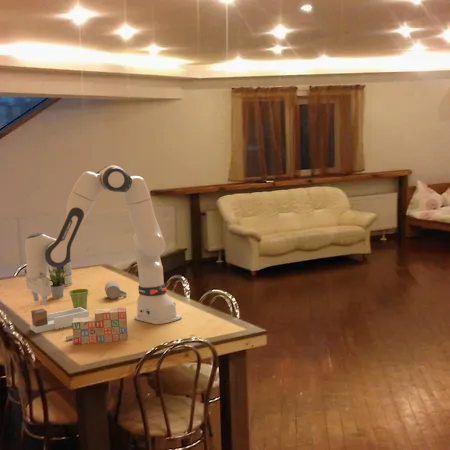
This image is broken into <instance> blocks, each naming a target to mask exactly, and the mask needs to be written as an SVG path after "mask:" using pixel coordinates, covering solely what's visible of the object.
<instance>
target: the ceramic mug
mask: <svg viewBox="0 0 450 450" xmlns="http://www.w3.org/2000/svg"><path fill="white" fill-rule="evenodd" d="M104 291H105V294H106V296H107V298H109V299H111V300H115V299H116V300H117V299H118V298H119V296H120V297H123V298H126V297H127V293H126V291H124V290H121V287H120V285H119V284H118V283H117V282H116V281H109V282H107V283H106V285H105V287H104Z"/></svg>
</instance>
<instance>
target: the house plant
mask: <svg viewBox="0 0 450 450" xmlns="http://www.w3.org/2000/svg"><path fill="white" fill-rule="evenodd" d="M53 268H54V267H52V269H53ZM65 268H66V267H65ZM65 268H63V269H62V270H61V272H60V270H59V274H58V269H57V268H56V271H55V270H54V271H55V275H56V278H55V275H53V271H51V270H49V269H48V272H49V277H48V278H49V280H50V285H51V296H52V299H60V298H63V297H64V289H65V286H64V284H61V282H62V280H63V278H64V277H65V276H66V275H65V276H64V277H63V278H62V277H60V276H61V273H62V271H63V270H64V269H65ZM68 270H70V269H68ZM66 271H67V270H65V271H64V272H63V274H64V273H65V272H66ZM63 274H62V276H63ZM61 279H62V280H61ZM65 279H66V278H65ZM66 280H67V279H66ZM60 281H61V282H60ZM63 281H64V280H63Z"/></svg>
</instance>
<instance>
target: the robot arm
mask: <svg viewBox="0 0 450 450" xmlns="http://www.w3.org/2000/svg"><path fill="white" fill-rule="evenodd" d="M104 190H107V191H110V192H114V193H118V192H119V193H122V194H123V197H124V201H125V204H126V208H127V212H128V216H129V221H130V223H131V225H132V227H133V230H134V234H133V235H132V236H133V237H132V244H133V248H134V256H135V259H136V264H137V272H138V273H137V274H138V286H137V287H138V288H137V290H138V295H139V296H138V299H136V315H135V316H134V320H137V321H142V322H144V323H149V324H153V325H162V324H167V323H172V322H176V321H179V320H181V319H182V315H181V314H179V313H178V312H177V310H176V302H175V301H173V300H172V298H171V297H170V296H169V295H168V294H167V291H168V290H167V287H166V284H165V283H164V267H163V266H164V265H163V264H162V260H161V255H162V254H163V253H164V252H165V250H166V247H167V246H166V245H167V244H166V241H165V238H164V236H163V233H162V230H161V227H160V225H159V223H158V220H157V216H156V214H155V210H154V206H153V202H152V198H151V194H150V190H149V188H148V186H147V183H146V181H145V179H144V178H143V177H142V176H138V175H132V176H130V175H129V173H127V171H126V170H125V169H123V168H122V167H121V166H118V165H113V164H112V165H107V166H105V167H103V168H102V169H100V170H99V171H97V172H93V171H84V172H83V173H82V174H81V175H80V176H79V177H78V179H77V181H76V182H75V184H74V185H73V188H72V189H71V191H70V194H69V197H68V198H67V202H66V208H65V209H66V211H65V220H64V222H63V225H62V227H61V229H60V231H59V234H58V235H57V237H56V238H54V237H51V236H48V235H46V234H45V233H43V232H39V233H33V234H31V235H29V236H28V237H27V238H26V239H25V244H24V245H25V246H24V247H25V248H24V249H25V250H24V251H25V252H24V253H25V258H26V265H25V266H26V268H24V269H23V273H24V274H25V282H26V287H27V289H28V290H29V291H31V295H32V297H33V298H32V299H33V301H34V302H38V301H40V300H39V296H41V301H40V304H41V306H46V305H47V301H48V297H49V296H52V292H51V285H52V284H51V281H50V280H51V279H50V280H49V278H50V277H47V276H49V275H50V273H49V271H48V270H49V266H51V268H53V267H56V268H59V267H63V266H65V265H66V264H67V263H68V262H69V260H70V259H71V247H72V244H73V242H74V239H75V237H76V235H77V232H78V230H79V228H80V227H81V225H82V223H83V222H84V221H85V219H86V218H87V216H88V215H89V213H90V212H91V211H92V210H93V207H94V205H95V204H96V201H97V200H98V197H99V195H100V194H101V192H103V191H104ZM38 295H39V296H38Z"/></svg>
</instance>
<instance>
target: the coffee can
mask: <svg viewBox="0 0 450 450" xmlns="http://www.w3.org/2000/svg"><path fill="white" fill-rule="evenodd" d="M71 261H72V259H71V258H70V260H69V262H68V263H67V264H66V265H65V266H63V267H59V268H57V269H58V274H59V270H60V272H61V270H62V269H63V268H65V267H66V268H65V269H64V270H63V271H62V273H61V276H60V277H62V278H63V277H64V276H65V275H66V276H65V277H64V278H63V280H64V281H63V280H62V279H61V280H62V282H61V281H60V282H61V284H64V287H69V286H71V285H73V284H74V283H73V277H72V276H73V273H72V262H71ZM68 269H70V270H68ZM54 270H55V271H56V267H54V268H53V267H52V273H53V275H55V271H54ZM65 270H67V271H66V272H65V273H64V274H63V272H64V271H65ZM62 274H63V276H62ZM55 278H56V275H55ZM65 278H66V279H67V280H66V279H65Z"/></svg>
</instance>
